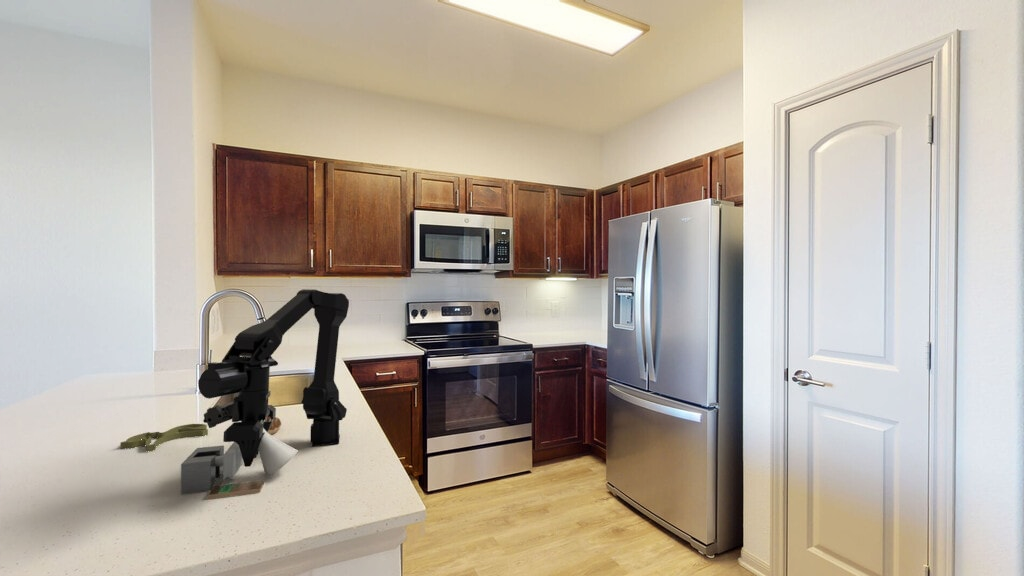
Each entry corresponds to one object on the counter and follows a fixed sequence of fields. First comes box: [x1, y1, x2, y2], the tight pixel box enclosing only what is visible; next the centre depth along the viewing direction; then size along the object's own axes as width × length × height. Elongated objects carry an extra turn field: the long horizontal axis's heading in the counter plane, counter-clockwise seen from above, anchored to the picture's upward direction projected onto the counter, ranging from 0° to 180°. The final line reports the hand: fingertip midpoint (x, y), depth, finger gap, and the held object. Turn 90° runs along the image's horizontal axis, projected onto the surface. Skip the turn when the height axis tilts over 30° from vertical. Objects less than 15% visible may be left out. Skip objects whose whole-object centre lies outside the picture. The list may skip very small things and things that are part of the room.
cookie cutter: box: [119, 423, 209, 453], centre depth 115 cm, size 18×12×2 cm, turn 154°
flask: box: [258, 428, 299, 476], centre depth 94 cm, size 7×7×10 cm
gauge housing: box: [180, 445, 265, 500], centre depth 90 cm, size 14×13×6 cm
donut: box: [265, 416, 282, 436], centre depth 121 cm, size 11×11×4 cm
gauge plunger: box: [215, 442, 243, 488], centre depth 90 cm, size 5×12×5 cm, turn 20°
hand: (250, 462), depth 92 cm, fingers closed on flask, 5 cm apart
